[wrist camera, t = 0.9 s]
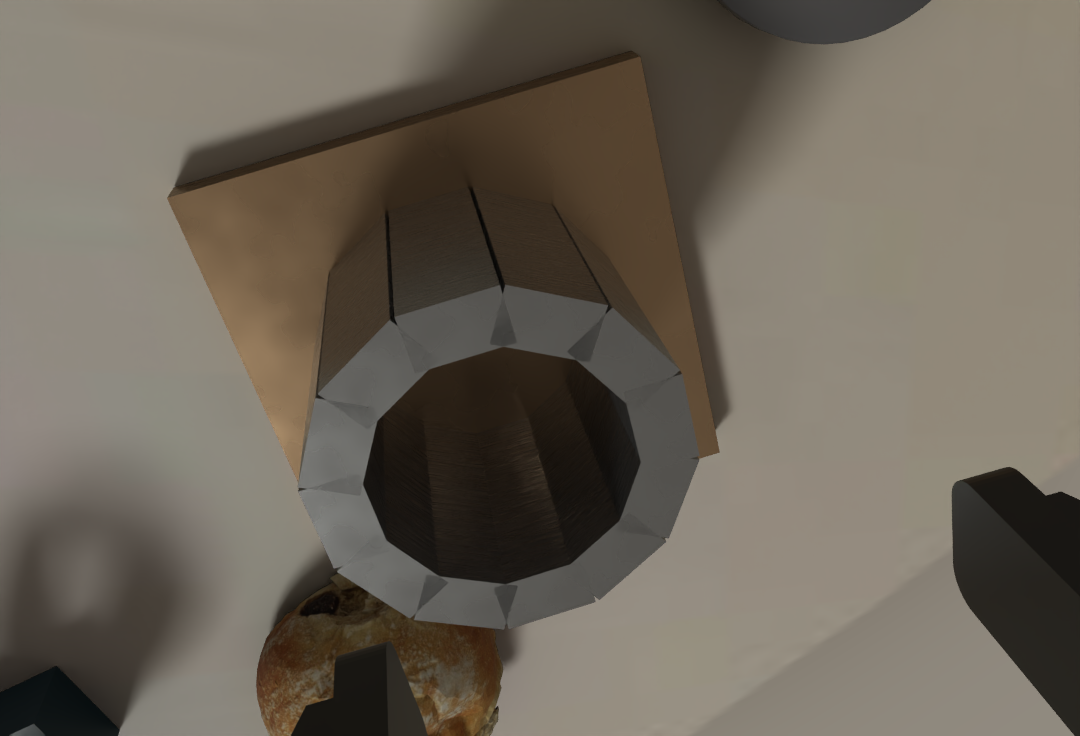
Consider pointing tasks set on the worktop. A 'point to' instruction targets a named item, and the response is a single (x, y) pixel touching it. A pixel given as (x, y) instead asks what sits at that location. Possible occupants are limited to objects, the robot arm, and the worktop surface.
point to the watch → (51, 709)
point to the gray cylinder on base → (471, 342)
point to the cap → (823, 17)
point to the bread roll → (364, 620)
